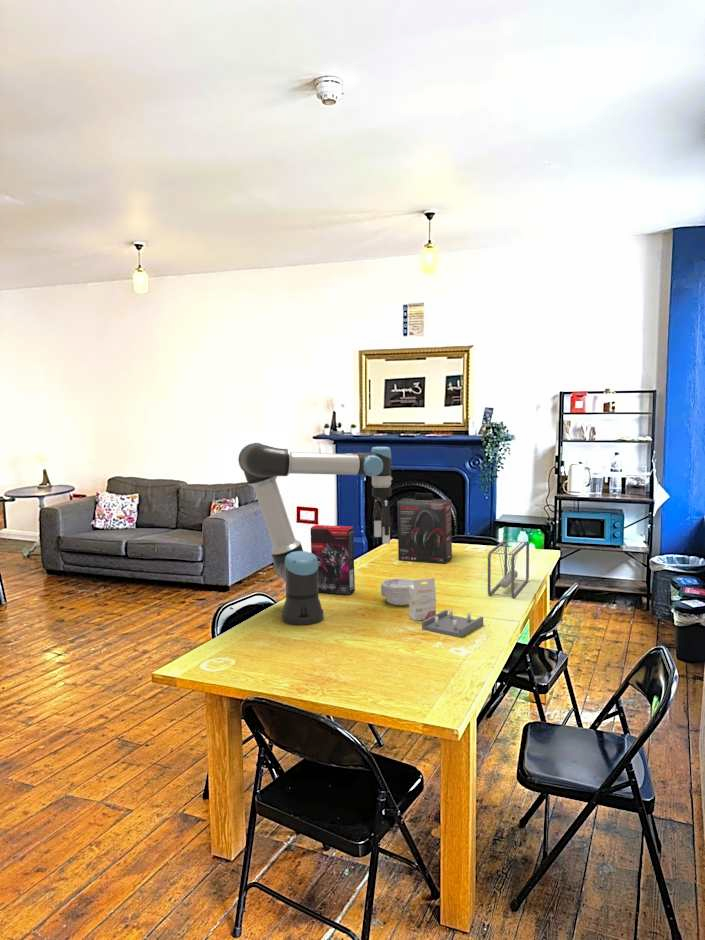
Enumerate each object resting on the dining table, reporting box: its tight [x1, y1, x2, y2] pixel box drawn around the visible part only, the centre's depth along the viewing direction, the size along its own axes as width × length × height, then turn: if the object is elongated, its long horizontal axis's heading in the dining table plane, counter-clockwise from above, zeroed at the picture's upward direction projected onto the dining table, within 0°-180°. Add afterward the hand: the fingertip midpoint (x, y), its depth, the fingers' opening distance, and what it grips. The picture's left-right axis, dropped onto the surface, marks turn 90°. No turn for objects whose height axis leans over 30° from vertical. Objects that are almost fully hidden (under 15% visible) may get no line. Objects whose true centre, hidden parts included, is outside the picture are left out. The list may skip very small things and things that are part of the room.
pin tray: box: [421, 608, 484, 639], centre depth 238 cm, size 16×15×4 cm
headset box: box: [396, 492, 453, 564], centre depth 339 cm, size 25×12×33 cm, turn 68°
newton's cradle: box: [487, 539, 530, 599], centre depth 286 cm, size 30×10×18 cm, turn 155°
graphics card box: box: [310, 524, 356, 596], centre depth 283 cm, size 17×7×27 cm, turn 71°
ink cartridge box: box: [408, 577, 437, 622], centre depth 248 cm, size 9×5×15 cm, turn 105°
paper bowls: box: [380, 578, 415, 606], centre depth 268 cm, size 15×15×8 cm
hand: (381, 540), depth 273 cm, fingers open, 13 cm apart
